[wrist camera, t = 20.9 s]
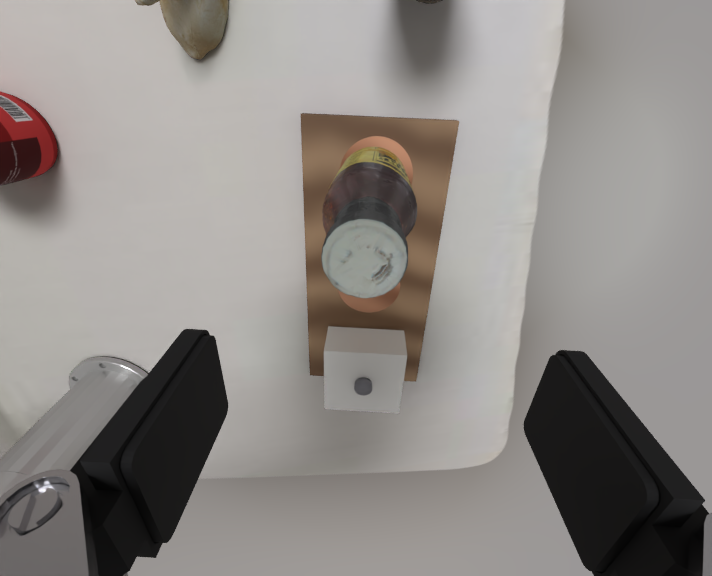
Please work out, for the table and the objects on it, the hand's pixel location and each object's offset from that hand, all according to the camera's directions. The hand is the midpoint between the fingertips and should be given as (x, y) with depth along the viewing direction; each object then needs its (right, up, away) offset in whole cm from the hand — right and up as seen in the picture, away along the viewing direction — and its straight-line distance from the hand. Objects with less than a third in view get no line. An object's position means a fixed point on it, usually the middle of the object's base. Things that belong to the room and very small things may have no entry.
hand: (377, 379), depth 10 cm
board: (+1, +5, +30) cm, 30 cm away
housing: (0, -6, +34) cm, 35 cm away
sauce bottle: (+1, +13, +24) cm, 27 cm away
